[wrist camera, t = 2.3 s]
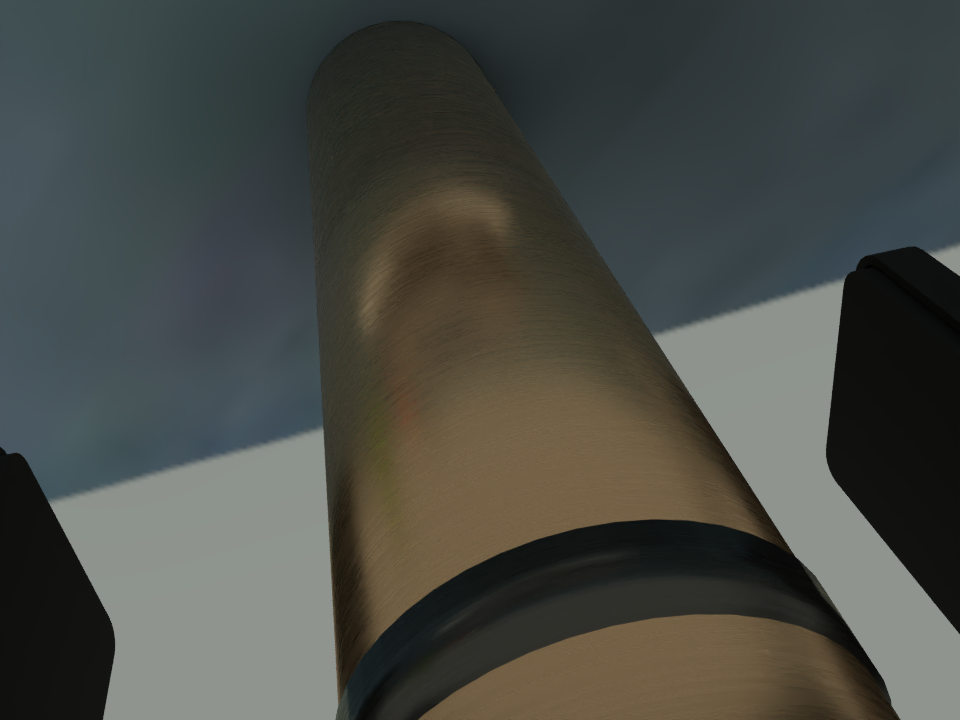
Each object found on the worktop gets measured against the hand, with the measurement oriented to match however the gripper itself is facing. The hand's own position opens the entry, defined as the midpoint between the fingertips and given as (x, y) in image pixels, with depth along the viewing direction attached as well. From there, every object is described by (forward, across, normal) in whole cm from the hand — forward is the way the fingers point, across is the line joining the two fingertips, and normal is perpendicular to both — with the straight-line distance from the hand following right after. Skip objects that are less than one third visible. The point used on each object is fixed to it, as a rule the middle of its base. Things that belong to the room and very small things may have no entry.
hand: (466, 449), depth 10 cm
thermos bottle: (+11, -1, 0) cm, 11 cm away
